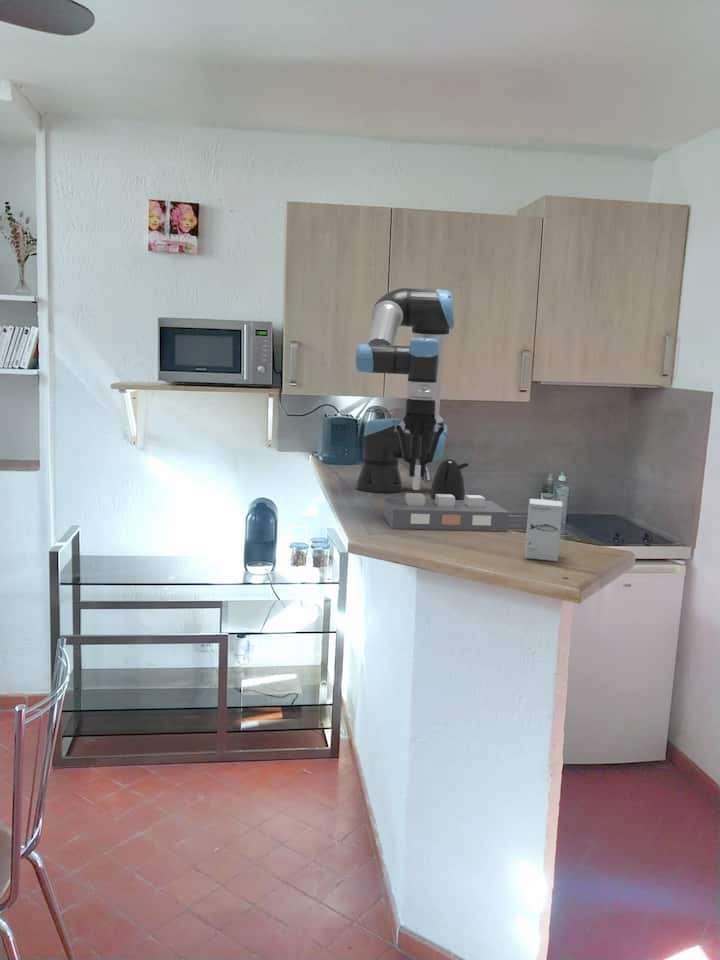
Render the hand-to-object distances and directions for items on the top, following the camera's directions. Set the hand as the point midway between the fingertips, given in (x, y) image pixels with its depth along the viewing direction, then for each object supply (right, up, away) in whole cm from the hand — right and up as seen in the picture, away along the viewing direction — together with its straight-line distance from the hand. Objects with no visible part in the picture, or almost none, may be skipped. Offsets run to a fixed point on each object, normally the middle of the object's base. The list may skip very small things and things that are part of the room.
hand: (415, 488), depth 207 cm
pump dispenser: (+10, -7, +21) cm, 24 cm away
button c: (+16, -6, +3) cm, 17 cm away
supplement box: (+26, -15, -29) cm, 42 cm away
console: (+8, -9, +2) cm, 12 cm away
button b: (+8, -6, +2) cm, 10 cm away
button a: (0, -6, +1) cm, 6 cm away
